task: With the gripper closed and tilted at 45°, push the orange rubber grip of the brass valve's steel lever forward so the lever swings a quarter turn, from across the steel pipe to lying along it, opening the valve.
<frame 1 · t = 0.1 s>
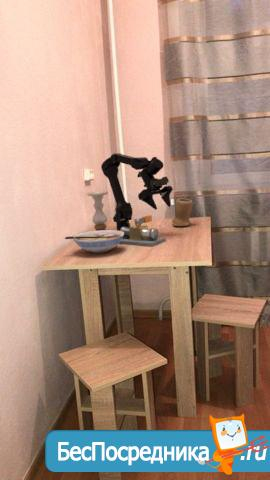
hand: (163, 207, 202), 15 cm above the table, tool tilted 35°, fingers open, 9 cm apart
valve lever: (143, 220, 203), point 10 cm above the table, hinge at 90.0°
stone cup: (182, 225, 237), on the table
valve assembly: (139, 242, 201), on the table
candle holder: (101, 240, 212), on the table
ramen bowl: (100, 251, 188), on the table
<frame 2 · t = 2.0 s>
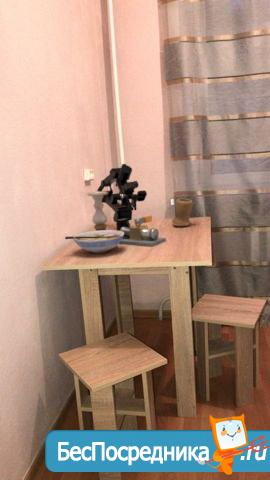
hand: (134, 210, 212), 14 cm above the table, tool tilted 45°, fingers closed
nothing on the table moved.
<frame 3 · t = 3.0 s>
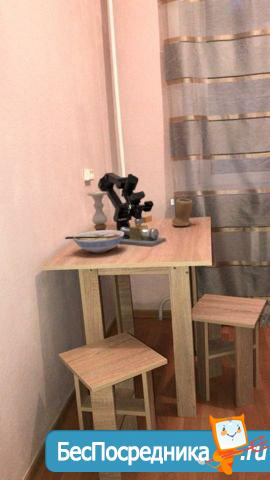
hand: (141, 221, 207), 9 cm above the table, tool tilted 45°, fingers closed
nothing on the table moved.
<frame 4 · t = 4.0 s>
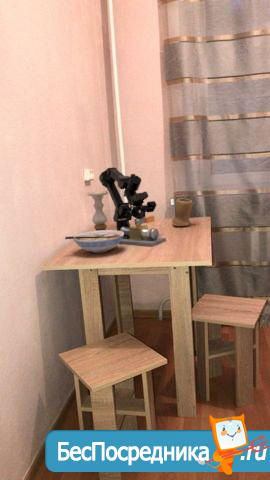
hand: (144, 222, 204), 9 cm above the table, tool tilted 45°, fingers closed
valve lever: (144, 220, 202), point 10 cm above the table, hinge at 80.7°, touching gripper
everything else where it was.
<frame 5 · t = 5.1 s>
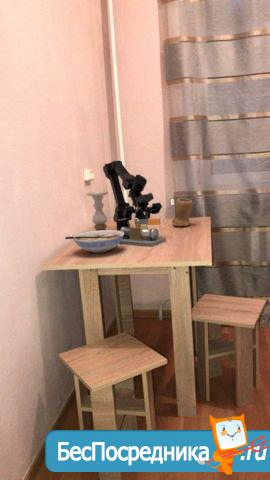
hand: (148, 224, 199), 8 cm above the table, tool tilted 45°, fingers closed
valve lever: (147, 221, 198), point 10 cm above the table, hinge at 19.1°, touching gripper
everything else where it was.
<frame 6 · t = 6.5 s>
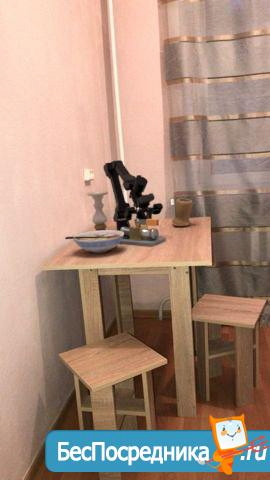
hand: (150, 224, 198), 8 cm above the table, tool tilted 45°, fingers closed
valve lever: (146, 222, 197), point 10 cm above the table, hinge at 2.6°
everything else where it was.
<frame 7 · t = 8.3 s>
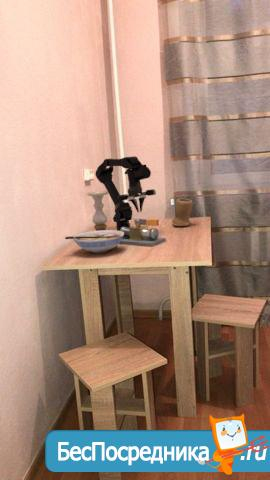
hand: (139, 212, 215), 12 cm above the table, tool pointing down, fingers closed
nothing on the table moved.
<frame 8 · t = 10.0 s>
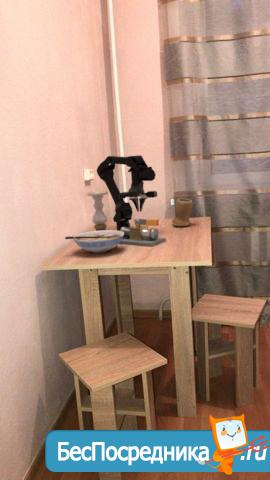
hand: (139, 211, 217), 12 cm above the table, tool pointing down, fingers closed
nothing on the table moved.
at the end: valve lever at +3° (first picture: +90°) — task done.
